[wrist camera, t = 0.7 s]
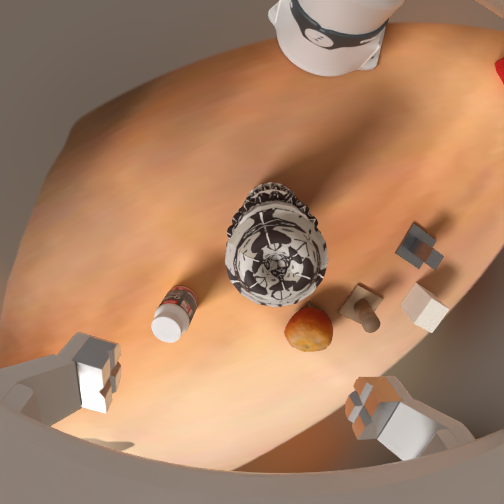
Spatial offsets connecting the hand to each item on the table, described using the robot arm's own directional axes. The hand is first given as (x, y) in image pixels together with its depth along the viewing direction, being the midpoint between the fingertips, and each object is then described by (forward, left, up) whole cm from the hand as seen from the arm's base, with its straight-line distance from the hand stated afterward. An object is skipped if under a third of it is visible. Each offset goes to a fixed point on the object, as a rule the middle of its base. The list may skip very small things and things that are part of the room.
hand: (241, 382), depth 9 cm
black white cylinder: (0, +2, -39) cm, 39 cm away
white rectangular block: (+1, +34, -38) cm, 51 cm away
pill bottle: (+21, -4, -39) cm, 44 cm away
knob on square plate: (+7, +24, -38) cm, 46 cm away
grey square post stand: (-7, +27, -38) cm, 47 cm away
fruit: (+14, +17, -39) cm, 45 cm away
